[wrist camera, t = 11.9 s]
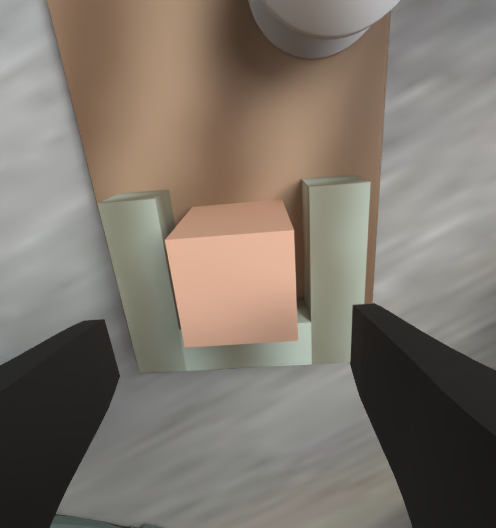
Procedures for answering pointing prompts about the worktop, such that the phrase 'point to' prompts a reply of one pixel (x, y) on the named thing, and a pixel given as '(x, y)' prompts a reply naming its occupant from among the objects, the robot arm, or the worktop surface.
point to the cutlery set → (85, 523)
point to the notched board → (232, 149)
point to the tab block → (235, 274)
